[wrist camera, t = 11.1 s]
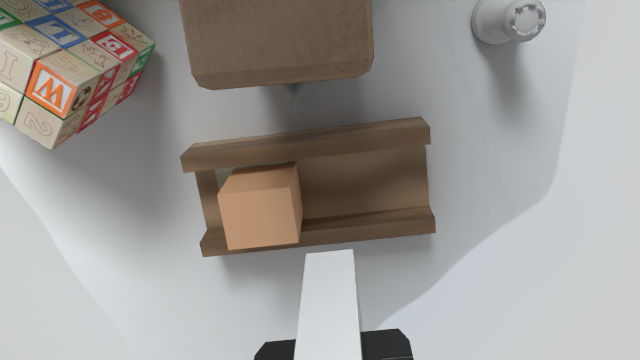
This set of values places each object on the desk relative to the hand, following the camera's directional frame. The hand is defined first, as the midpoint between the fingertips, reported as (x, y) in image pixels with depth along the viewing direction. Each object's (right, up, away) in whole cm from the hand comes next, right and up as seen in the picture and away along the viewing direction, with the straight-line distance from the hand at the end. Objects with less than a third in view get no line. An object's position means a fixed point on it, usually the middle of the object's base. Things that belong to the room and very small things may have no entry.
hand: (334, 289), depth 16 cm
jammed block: (-5, +2, +32) cm, 32 cm away
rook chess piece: (+15, +18, +28) cm, 36 cm away
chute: (-1, +4, +33) cm, 33 cm away
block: (-2, +20, +28) cm, 34 cm away
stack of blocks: (-25, +20, +28) cm, 42 cm away
